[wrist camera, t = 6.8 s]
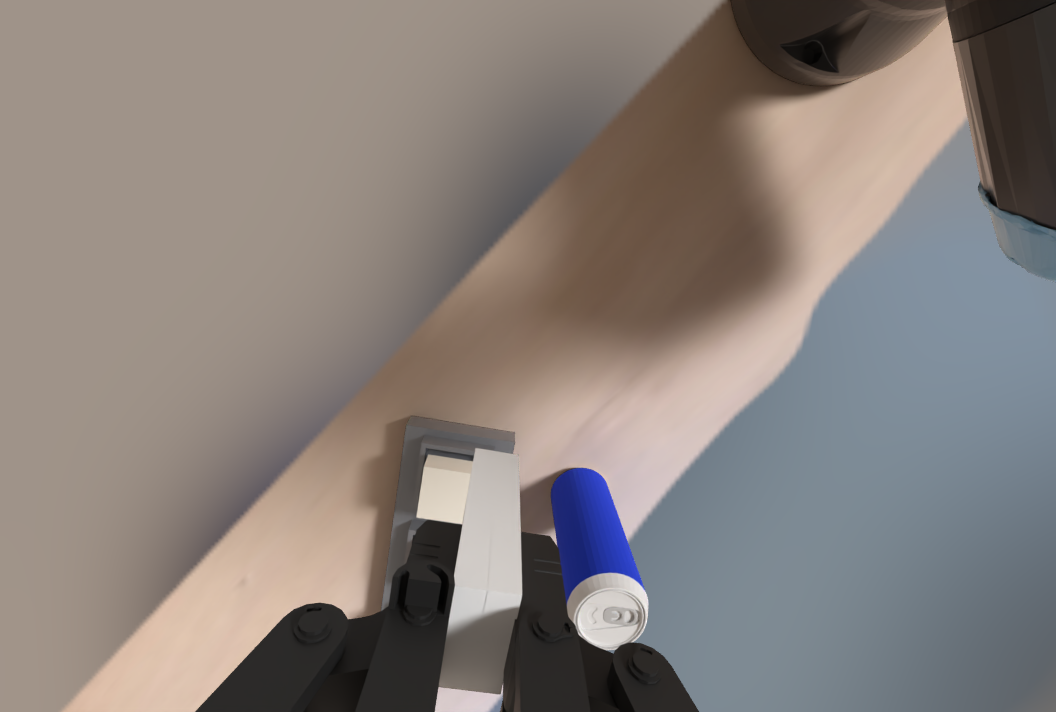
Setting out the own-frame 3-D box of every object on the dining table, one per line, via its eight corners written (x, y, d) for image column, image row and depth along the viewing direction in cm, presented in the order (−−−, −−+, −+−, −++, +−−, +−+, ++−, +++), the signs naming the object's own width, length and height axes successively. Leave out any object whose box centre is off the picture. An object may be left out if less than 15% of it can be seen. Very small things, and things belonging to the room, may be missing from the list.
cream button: (428, 454, 39) (423, 466, 37) (483, 463, 39) (482, 475, 37) (421, 503, 40) (416, 517, 38) (474, 511, 40) (472, 525, 38)
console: (411, 415, 42) (392, 450, 36) (514, 432, 43) (515, 469, 36) (377, 657, 49) (357, 723, 42) (468, 669, 49) (461, 735, 43)
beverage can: (548, 515, 45) (565, 653, 31) (551, 463, 44) (570, 583, 29) (605, 516, 45) (648, 654, 31) (609, 465, 44) (656, 584, 29)
